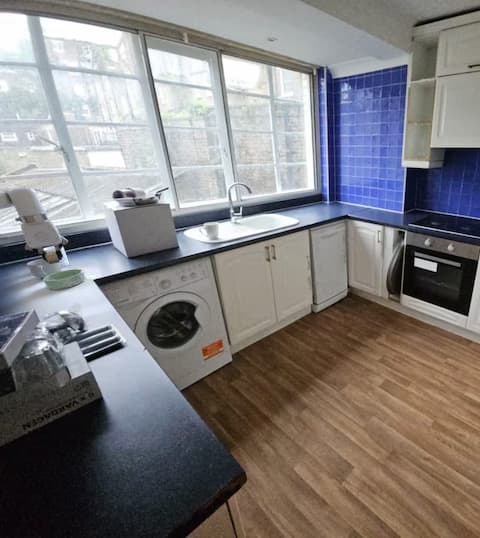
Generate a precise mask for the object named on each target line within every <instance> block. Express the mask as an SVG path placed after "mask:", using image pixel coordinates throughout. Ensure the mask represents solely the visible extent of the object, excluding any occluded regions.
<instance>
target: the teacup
mask: <svg viewBox="0 0 480 538" xmlns="http://www.w3.org/2000/svg"><path fill="white" fill-rule="evenodd" d="M26 265H27V267H28V269H29V272H30V273H31V275H32V276H33V277H35V278H38V279H44V278H45V277H46V276H48V275H51V274H54V273H57V272H61V271H63V267H61V264H60V262H59V263H54V264H49V263H48V262H46V260H44V259H43V258H39V259H34V260H31V261H28V262H27V263H26Z"/></svg>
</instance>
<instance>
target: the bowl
mask: <svg viewBox="0 0 480 538" xmlns="http://www.w3.org/2000/svg"><path fill="white" fill-rule="evenodd" d="M84 280H85V281H86V280H87V277H86V274H85V272H84V270H83V269H81V268H73V269H72V268H71V269H66V270H61V272H57V273H54V274H51V275H48V276H46V277H45V278H42V281H43V283H44V285H45V287H46V288H47V289H48V290H53V291H54V290H55V291H57V290H65V289H69V288H72V287H71V286H73V287H75V286H74V285H76V284H78V285H80V284H82V283H84V282H85V281H84ZM83 281H84V282H83ZM81 282H82V283H81ZM79 283H80V284H79ZM76 286H77V285H76ZM68 287H69V288H68Z"/></svg>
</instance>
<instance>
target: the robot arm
mask: <svg viewBox="0 0 480 538" xmlns="http://www.w3.org/2000/svg"><path fill="white" fill-rule="evenodd" d="M12 207H14V209H15V211H16V213H17V215H18V217H14V219H15V221H16V222H20V229H21V232H22V235H23V238H24V239H25V240H24V241H25V243H26V244H25V246H24V250H26V251H32V252H34V253H38V254H39V255H41V257H42V259H44V260H46V262H48V261H47V259H46V257H45V255H46V253H47V252H45V251H44V250H43V249H44V248H45V247H51V246H54V248H55V249H56V254H57V256H58V258H59V260H62V257H63V254H62V252H61V250H60V249H61V248H62V247H63V248H64V246H65V245H67V244H68V243H69V240H68V239H66V238H65V237H64V236H62V235H61V233H60V231H59V229H58V227H57V226H56V225H55V223H54V221H52V219H49V217H48V215H47V213H46V211H45V208H44V206H43V205H42V202H41V200H40V198H39V195H38V194H37V192H36V190H35V189H34V188H33V187H28V186H25V187H22V186H21V187H14V188H9V187H0V210H3V209H8V208H12Z"/></svg>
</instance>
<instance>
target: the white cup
mask: <svg viewBox="0 0 480 538" xmlns="http://www.w3.org/2000/svg"><path fill="white" fill-rule="evenodd" d="M43 250H44V251H45V252H50V251H56V249H55V248H54V246H53V245H50V246H46V247H43ZM60 250H61V252H62V254H63V257H62V260H60V264H61V267H62V268H63V267H66V266H68V265H70V261H69V259H68V256H67V253H66V250H65V248H64V246H63V247H62V248H61V249H60Z"/></svg>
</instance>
